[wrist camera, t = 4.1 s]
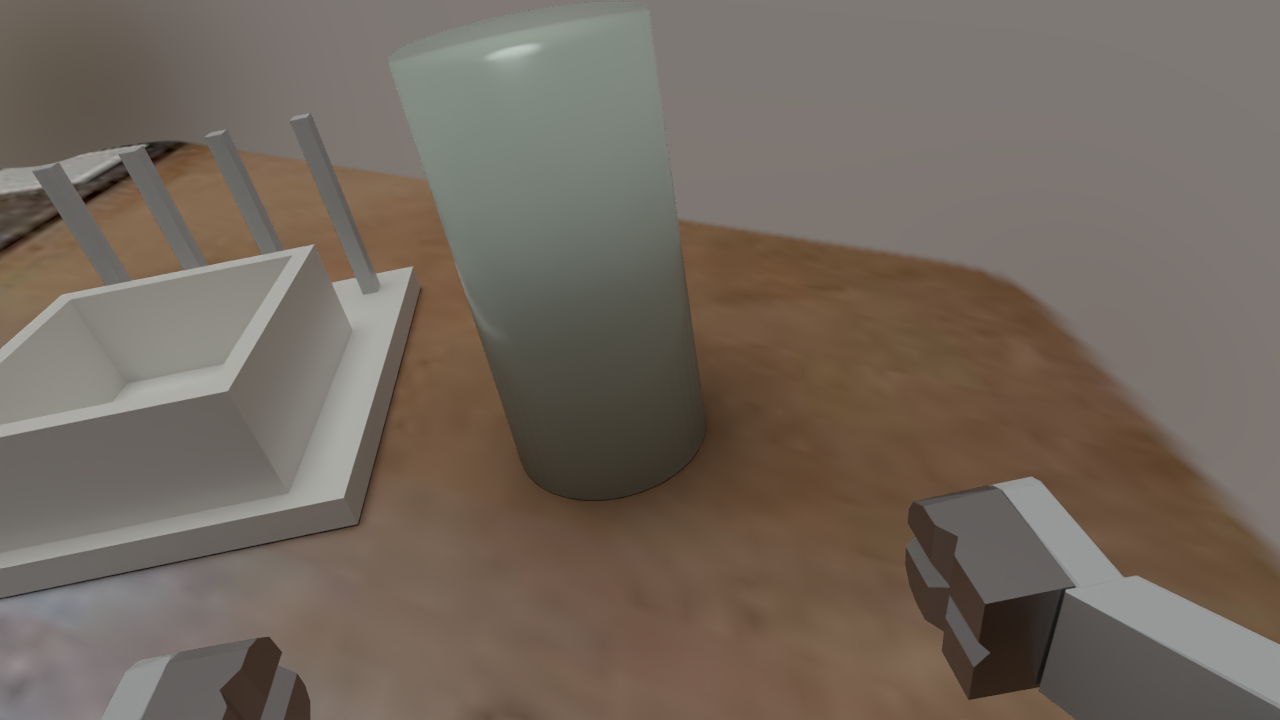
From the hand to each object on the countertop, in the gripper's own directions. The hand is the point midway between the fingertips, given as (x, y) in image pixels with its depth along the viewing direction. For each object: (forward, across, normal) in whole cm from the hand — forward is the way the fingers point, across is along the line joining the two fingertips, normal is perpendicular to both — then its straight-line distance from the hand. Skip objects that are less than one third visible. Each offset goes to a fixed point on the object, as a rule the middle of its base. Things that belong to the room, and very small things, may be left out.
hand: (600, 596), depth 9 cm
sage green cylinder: (+11, 0, +6) cm, 12 cm away
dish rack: (+16, +13, +6) cm, 21 cm away
